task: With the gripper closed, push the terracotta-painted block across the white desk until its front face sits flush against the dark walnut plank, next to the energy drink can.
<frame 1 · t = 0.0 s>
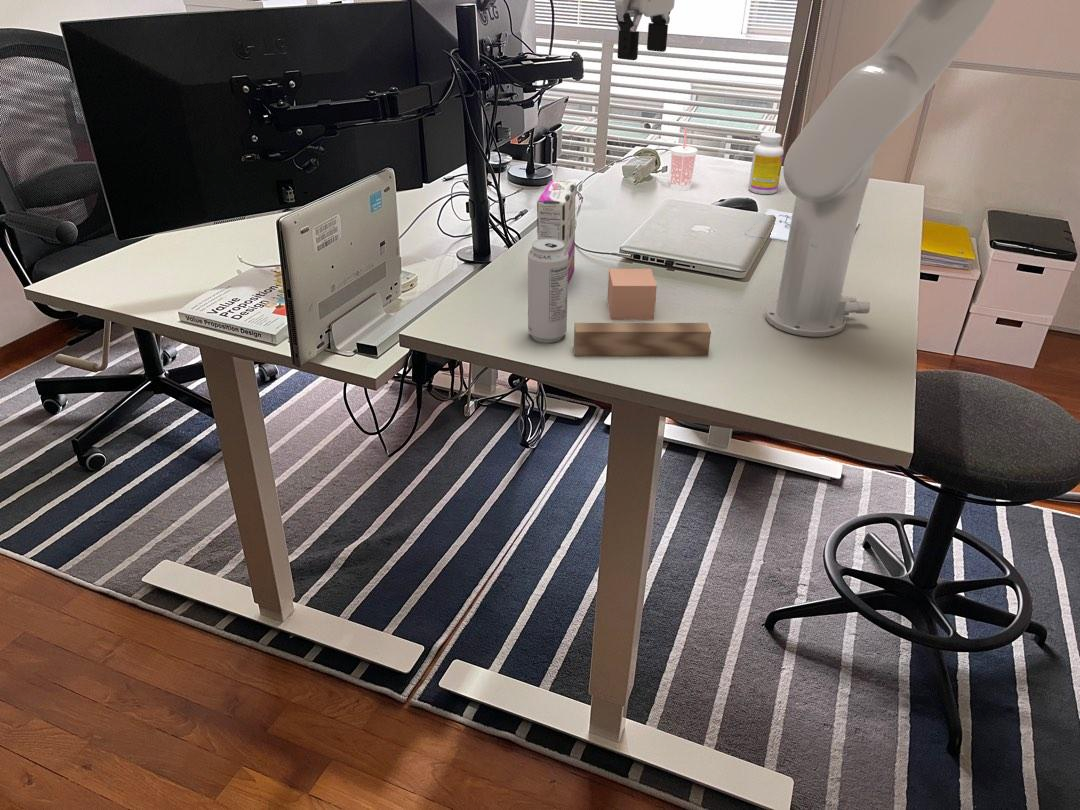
hand: (642, 54, 130), 37 cm above the table, tool pointing down, fingers open, 9 cm apart
candy bar box: (555, 282, 148), on the table
terracotta block: (630, 310, 137), on the table
beverage cup: (680, 188, 195), on the table
walnut plank: (640, 351, 125), on the table
supplement bottle: (762, 191, 193), on the table
energy drink can: (547, 336, 129), on the table
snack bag: (802, 233, 172), on the table
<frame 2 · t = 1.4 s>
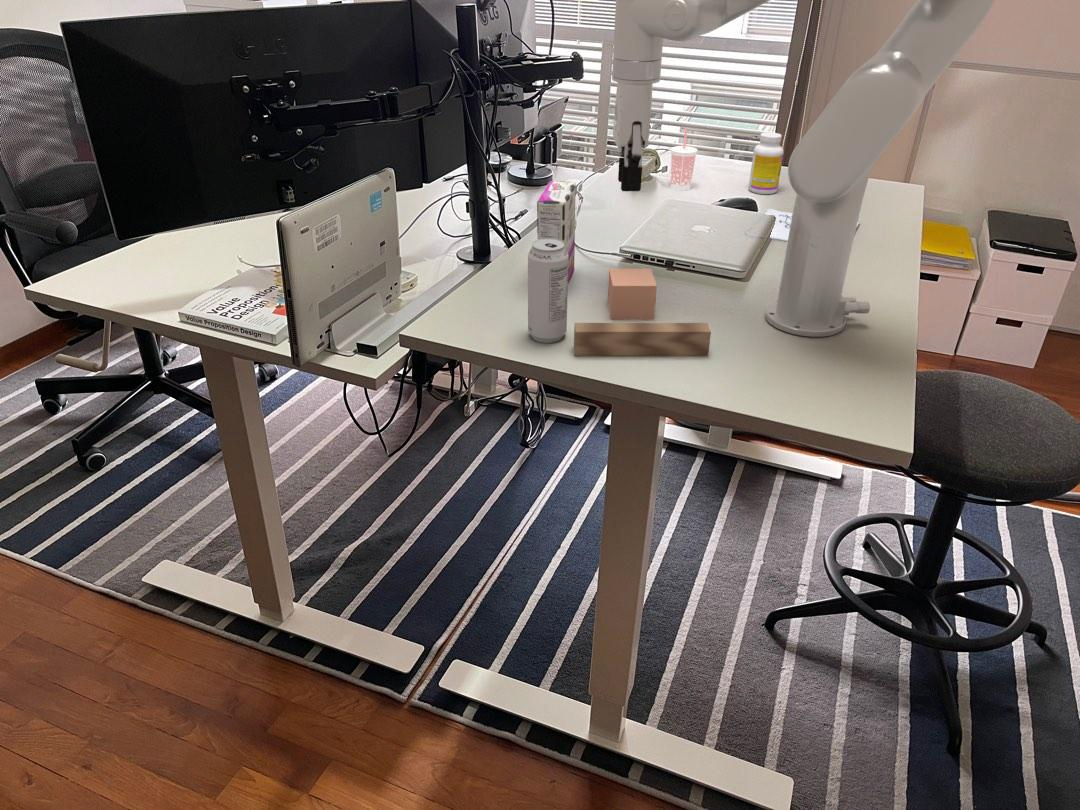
hand: (629, 184, 138), 17 cm above the table, tool pointing down, fingers open, 4 cm apart
nothing on the table moved.
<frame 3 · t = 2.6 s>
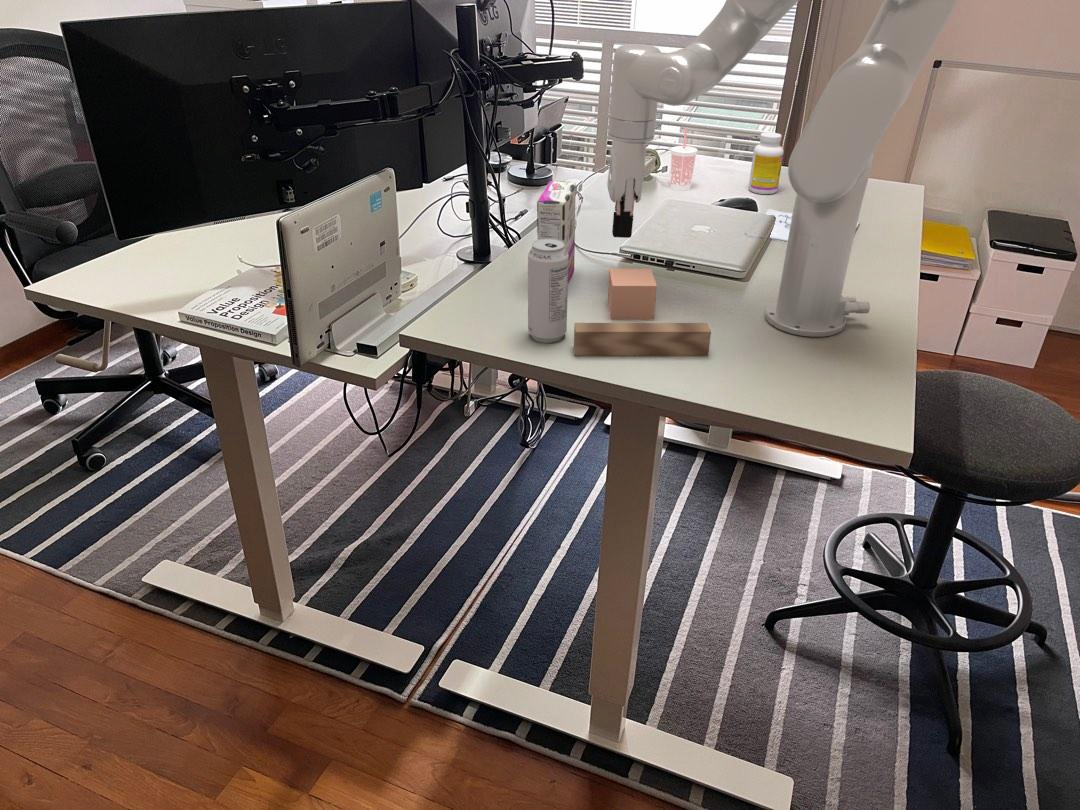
hand: (621, 235, 144), 8 cm above the table, tool pointing down, fingers closed
nothing on the table moved.
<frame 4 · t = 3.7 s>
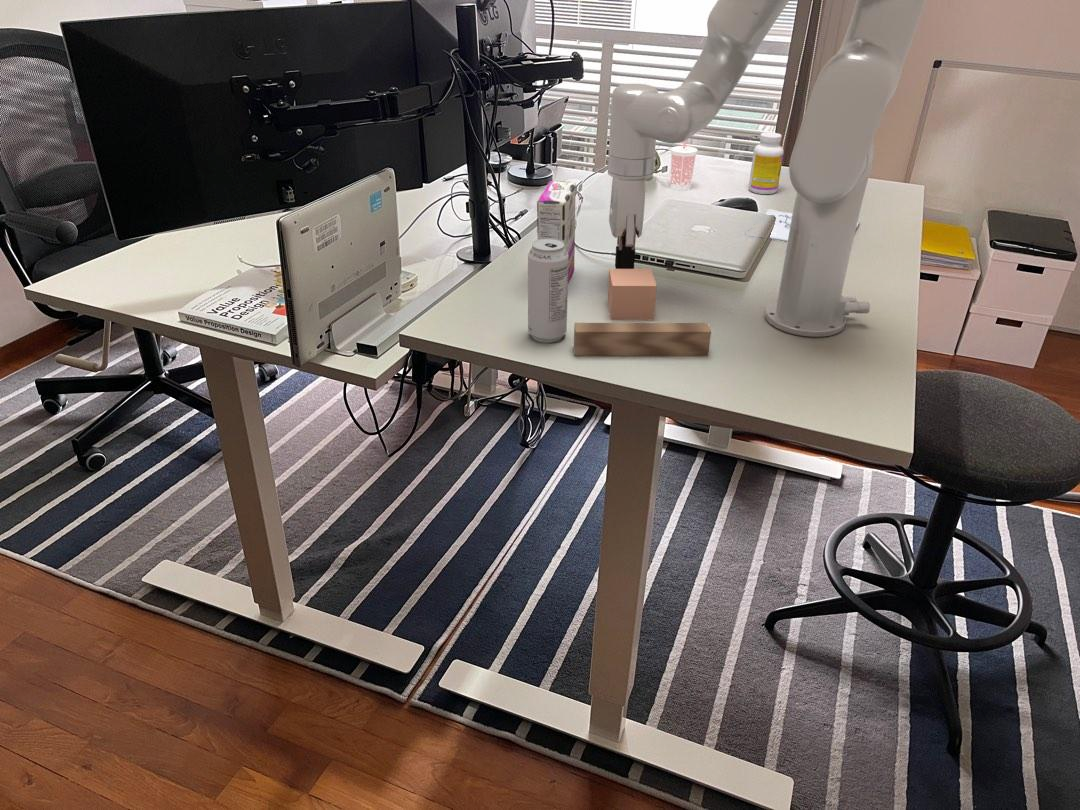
hand: (624, 269, 146), 3 cm above the table, tool pointing down, fingers closed
nothing on the table moved.
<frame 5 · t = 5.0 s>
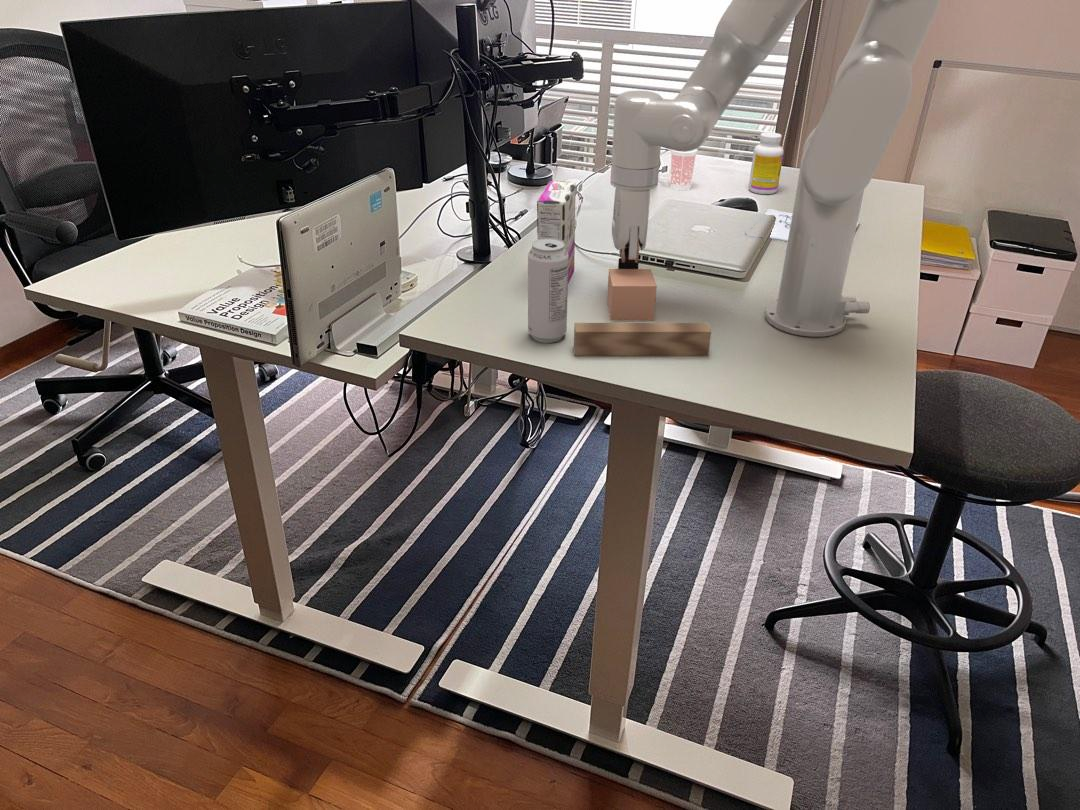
hand: (627, 281, 141), 3 cm above the table, tool pointing down, fingers closed
terracotta block: (629, 311, 137), on the table, touching gripper
everything else where it was.
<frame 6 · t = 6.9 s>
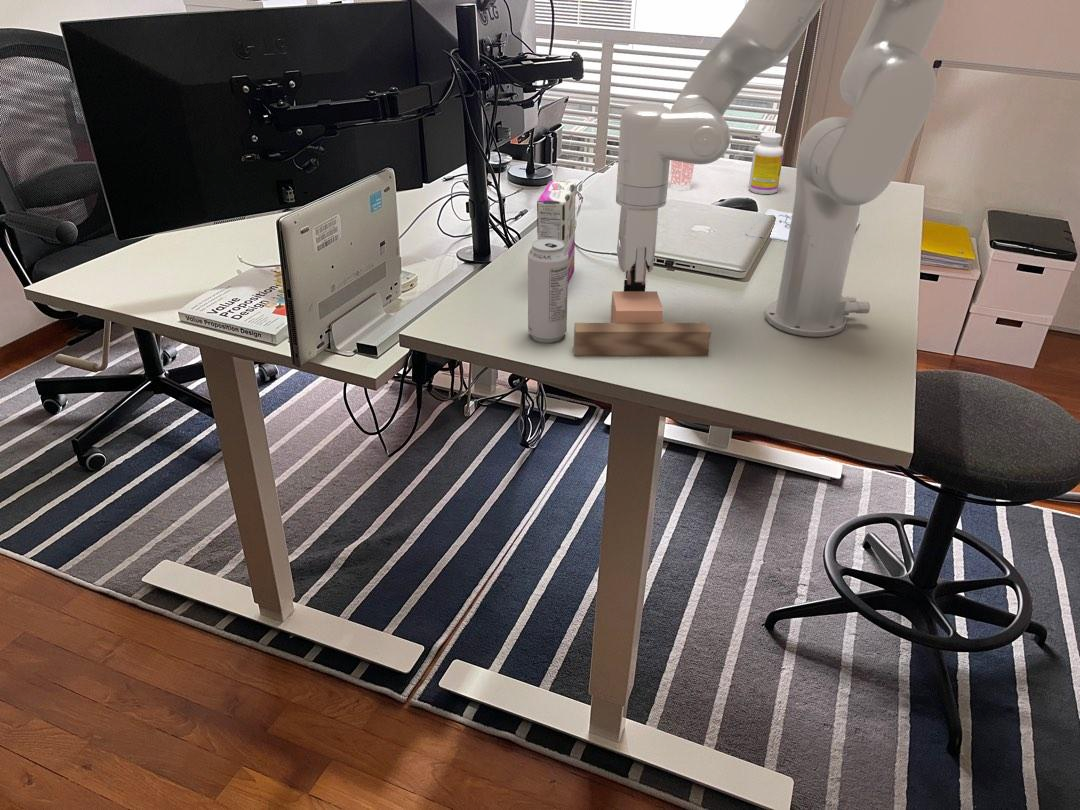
hand: (633, 304, 133), 3 cm above the table, tool pointing down, fingers closed
terracotta block: (634, 335, 129), on the table, touching gripper, walnut plank
everything else where it was.
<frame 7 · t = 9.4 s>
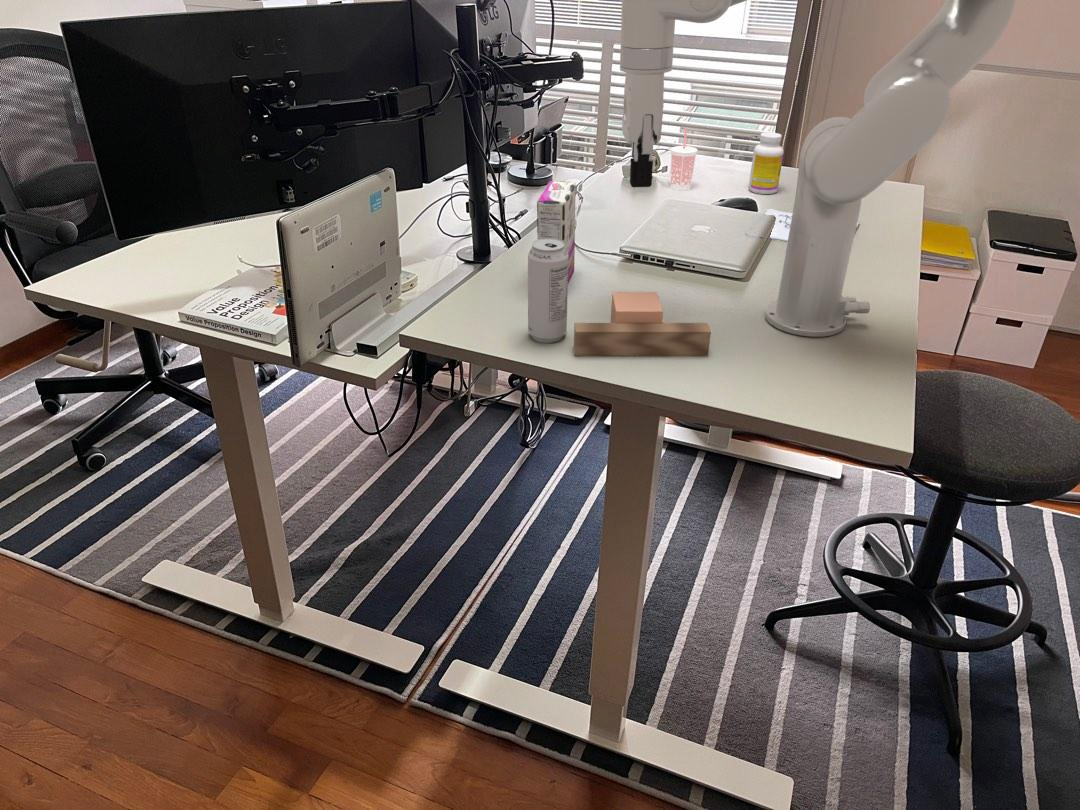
hand: (640, 185, 128), 20 cm above the table, tool pointing down, fingers closed
terracotta block: (634, 336, 129), on the table
everything else where it was.
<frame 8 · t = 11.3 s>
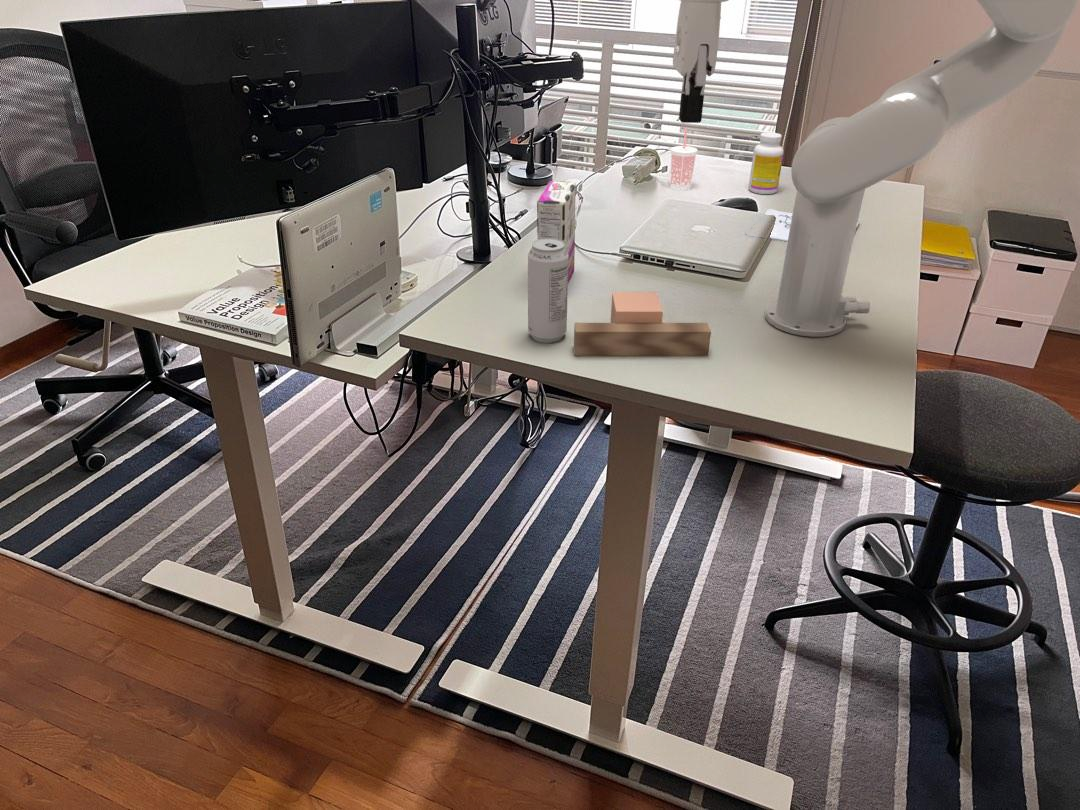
hand: (689, 121, 127), 29 cm above the table, tool pointing down, fingers closed
nothing on the table moved.
at the end: terracotta block 0.4 cm from the target spot on the table beside the walnut plank, on the table; terracotta block tilted 0° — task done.
